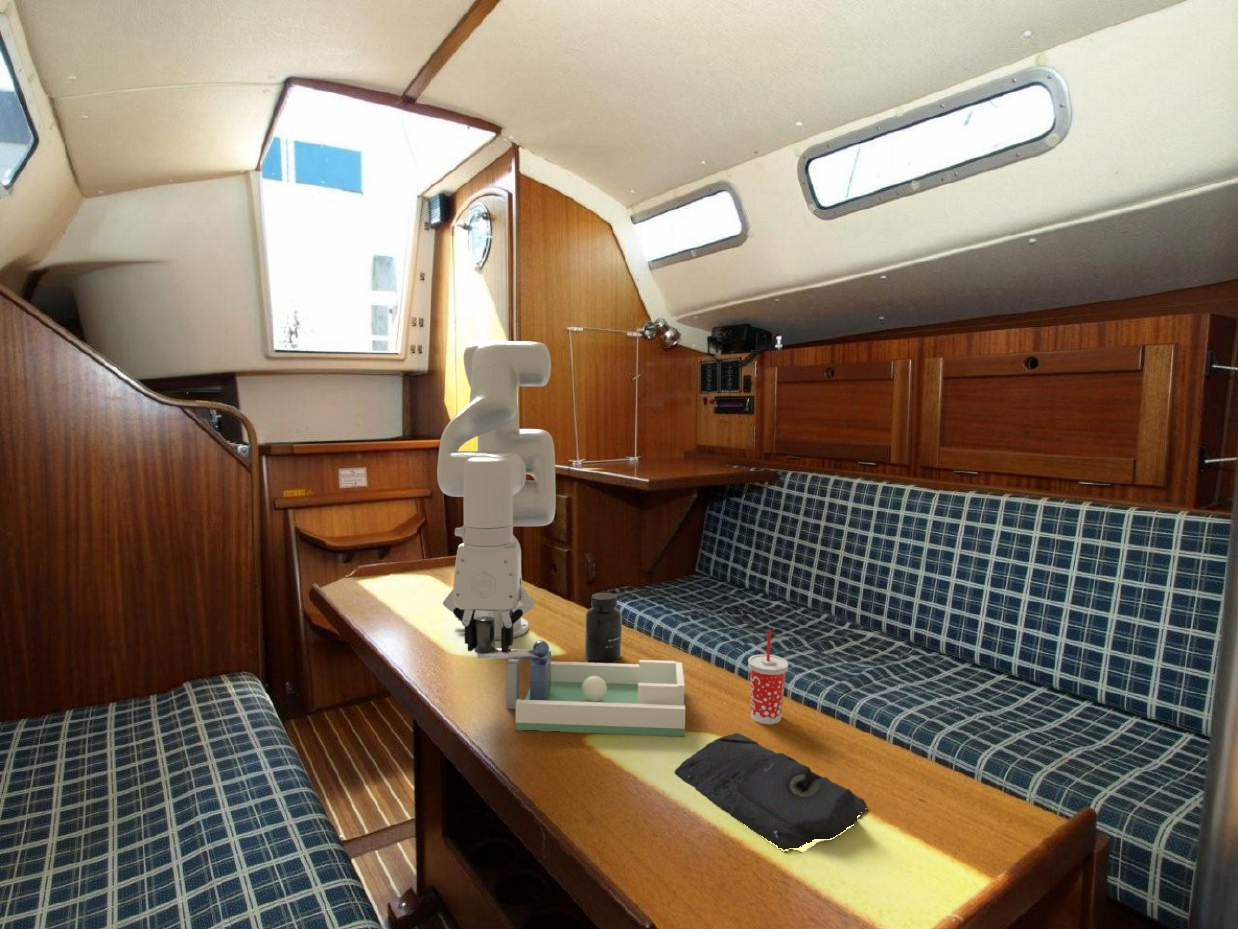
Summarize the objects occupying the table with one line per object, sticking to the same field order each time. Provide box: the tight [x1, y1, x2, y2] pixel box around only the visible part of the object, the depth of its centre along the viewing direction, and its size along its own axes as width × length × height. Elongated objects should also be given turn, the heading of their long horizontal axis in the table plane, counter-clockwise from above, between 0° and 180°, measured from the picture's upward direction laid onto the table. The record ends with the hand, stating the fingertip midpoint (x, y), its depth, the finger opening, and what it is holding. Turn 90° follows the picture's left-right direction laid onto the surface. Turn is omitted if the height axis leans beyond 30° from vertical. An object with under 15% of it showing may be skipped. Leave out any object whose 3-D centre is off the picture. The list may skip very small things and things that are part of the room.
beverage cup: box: [747, 629, 789, 725], centre depth 106 cm, size 6×6×14 cm
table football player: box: [473, 616, 552, 701], centre depth 109 cm, size 12×6×12 cm, turn 87°
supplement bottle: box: [584, 592, 623, 663], centre depth 129 cm, size 7×7×12 cm
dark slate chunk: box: [673, 732, 869, 850], centre depth 87 cm, size 15×22×5 cm
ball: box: [582, 676, 607, 702], centre depth 108 cm, size 4×4×4 cm
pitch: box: [505, 659, 686, 737], centre depth 108 cm, size 28×16×7 cm, turn 87°
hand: (489, 647), depth 108 cm, fingers closed on table football player, 4 cm apart
